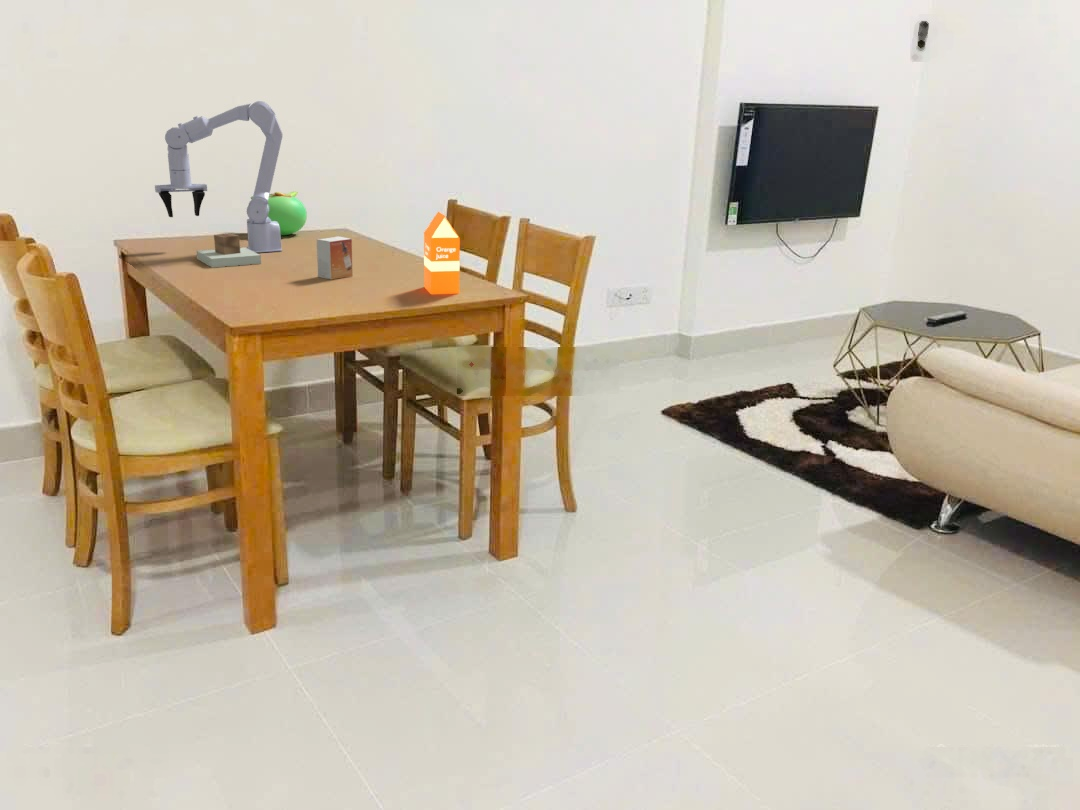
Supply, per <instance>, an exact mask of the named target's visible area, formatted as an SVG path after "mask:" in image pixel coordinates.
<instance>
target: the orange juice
mask: <svg viewBox="0 0 1080 810" xmlns="http://www.w3.org/2000/svg"><path fill="white" fill-rule="evenodd" d="M460 239H461V238H460V237H459V235H458V234H457V232H456V230H455V229H454V228H453V227H452V225H451V224H450V222H449V220H448V219H447V217H446V215H444V214H443V213H442V212H440V211H437V213H436V214H435V216H434V217H433V218H432V220H431V222H430V223H429V224H428V226H427V227H426V229H425V230H424V232H423V270H424V271H423V273H424V275H423V281H424V282H423V286H424V287H423V288H425V290H426V291H427V292H428V293H429V294H430V295H450V294H452V295H453V294H454V295H455V294H460V269H461V268H460V257H461V256H460V250H461V247H460V246H461V240H460Z"/></svg>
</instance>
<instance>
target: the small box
mask: <svg viewBox="0 0 1080 810" xmlns="http://www.w3.org/2000/svg"><path fill="white" fill-rule="evenodd" d="M352 240H353V239H352V238H349V237H344V236H340V235H339V236H332V237H326V238H317V239H316V260H317V261H316V262H317V277H318V278H321V279H326V280H329V281H331V280H332V281H333V280H335V279H340V278H341V279H343V278H350V277H353V276H354V275H353V247H352V246H353V241H352Z"/></svg>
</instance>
